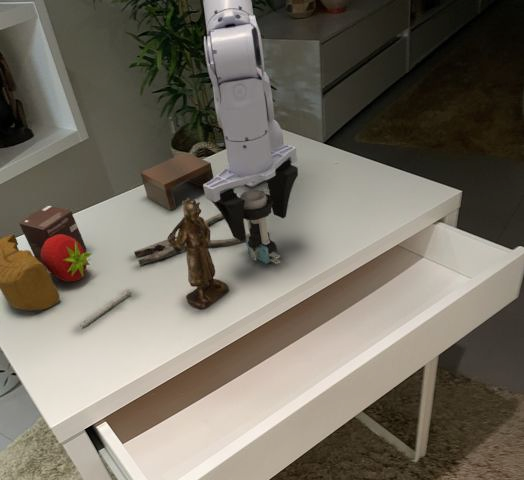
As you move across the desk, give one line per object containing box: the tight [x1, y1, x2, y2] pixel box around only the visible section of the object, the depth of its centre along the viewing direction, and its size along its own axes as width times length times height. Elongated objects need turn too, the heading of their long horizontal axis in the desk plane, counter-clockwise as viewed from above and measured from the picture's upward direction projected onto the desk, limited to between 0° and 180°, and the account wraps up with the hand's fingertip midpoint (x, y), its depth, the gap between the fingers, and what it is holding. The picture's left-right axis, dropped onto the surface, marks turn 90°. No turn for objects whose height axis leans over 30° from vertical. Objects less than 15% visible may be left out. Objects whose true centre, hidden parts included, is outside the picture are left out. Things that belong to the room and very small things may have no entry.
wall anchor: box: [79, 289, 132, 329], centre depth 79 cm, size 1×9×1 cm
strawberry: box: [41, 234, 93, 283], centre depth 84 cm, size 6×8×10 cm
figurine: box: [166, 197, 230, 310], centre depth 73 cm, size 7×4×15 cm, turn 137°
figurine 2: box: [0, 233, 60, 312], centre depth 84 cm, size 7×7×15 cm
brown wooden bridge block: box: [140, 151, 214, 211], centre depth 102 cm, size 10×8×5 cm
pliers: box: [133, 213, 250, 266], centre depth 89 cm, size 10×1×20 cm
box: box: [18, 205, 87, 264], centre depth 90 cm, size 6×6×7 cm
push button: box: [239, 188, 281, 265], centre depth 81 cm, size 7×5×10 cm
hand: (260, 226), depth 80 cm, fingers open, 7 cm apart
